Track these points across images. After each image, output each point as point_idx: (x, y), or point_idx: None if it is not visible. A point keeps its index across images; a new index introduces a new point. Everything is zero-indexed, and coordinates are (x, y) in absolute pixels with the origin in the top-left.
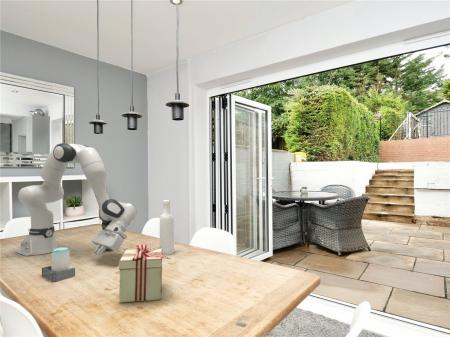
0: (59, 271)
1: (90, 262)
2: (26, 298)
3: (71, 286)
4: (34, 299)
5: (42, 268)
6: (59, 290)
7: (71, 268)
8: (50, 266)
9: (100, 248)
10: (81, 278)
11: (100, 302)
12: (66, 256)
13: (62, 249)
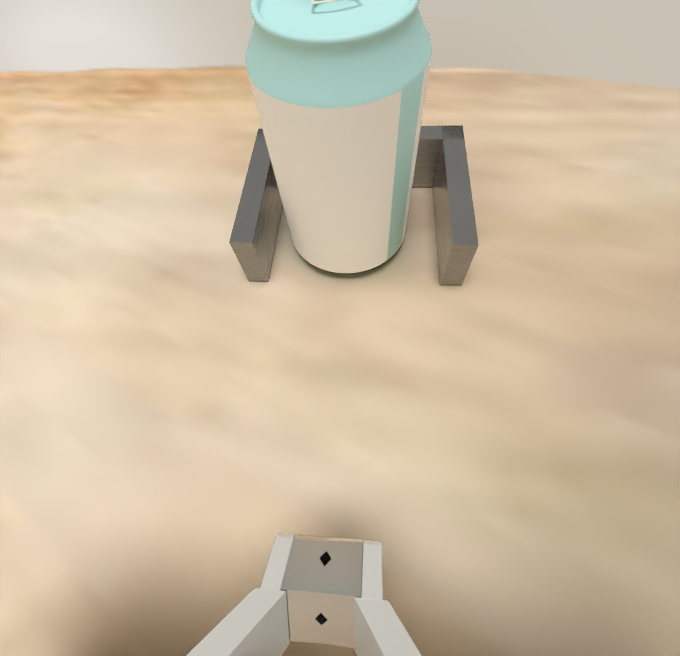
0: (269, 160)
1: (505, 563)
2: (198, 79)
3: (118, 204)
4: (158, 90)
5: (446, 126)
6: (136, 159)
7: (249, 223)
8: (449, 163)
9: (240, 633)
10: (166, 284)
11: None
12: (256, 103)
13: (320, 11)
